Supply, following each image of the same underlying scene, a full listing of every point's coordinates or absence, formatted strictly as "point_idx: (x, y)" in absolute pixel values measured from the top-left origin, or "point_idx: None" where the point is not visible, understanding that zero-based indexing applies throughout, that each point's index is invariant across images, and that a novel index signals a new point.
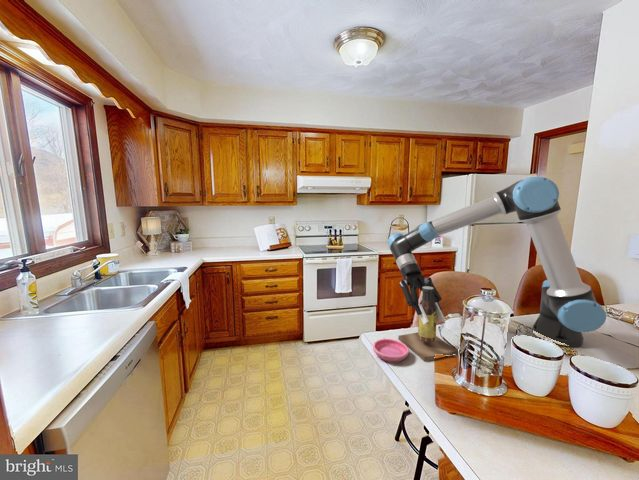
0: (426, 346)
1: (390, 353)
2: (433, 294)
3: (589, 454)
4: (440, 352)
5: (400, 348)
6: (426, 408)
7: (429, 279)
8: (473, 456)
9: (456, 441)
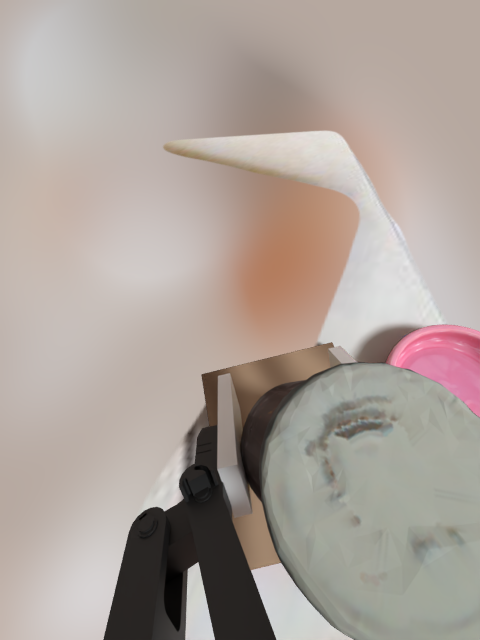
0: None
1: (449, 388)
2: (204, 586)
3: (184, 154)
4: (266, 367)
5: None
6: (374, 204)
7: None
8: (331, 144)
9: (345, 158)
